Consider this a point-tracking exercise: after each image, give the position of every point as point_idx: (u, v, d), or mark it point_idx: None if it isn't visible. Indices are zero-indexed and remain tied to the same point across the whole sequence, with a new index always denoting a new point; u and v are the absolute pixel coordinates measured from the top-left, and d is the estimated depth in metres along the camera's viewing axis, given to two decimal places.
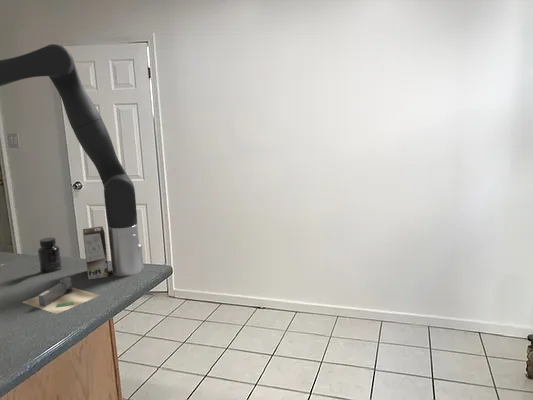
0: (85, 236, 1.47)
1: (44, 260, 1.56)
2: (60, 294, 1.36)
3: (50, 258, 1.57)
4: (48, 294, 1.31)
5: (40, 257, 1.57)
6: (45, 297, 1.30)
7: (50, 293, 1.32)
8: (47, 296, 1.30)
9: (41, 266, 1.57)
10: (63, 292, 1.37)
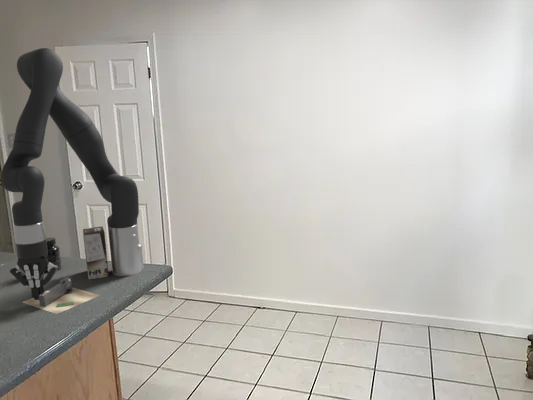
0: (85, 236, 1.47)
1: None
2: (60, 294, 1.36)
3: (50, 258, 1.57)
4: (48, 294, 1.31)
5: None
6: (46, 297, 1.30)
7: (50, 293, 1.32)
8: (47, 296, 1.30)
9: None
10: (63, 292, 1.37)
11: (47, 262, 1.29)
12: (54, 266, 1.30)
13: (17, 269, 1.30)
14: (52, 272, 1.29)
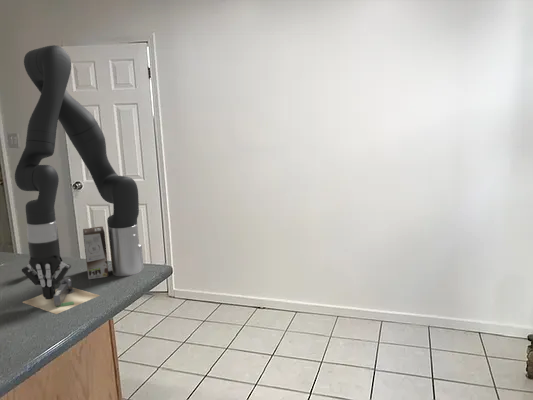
0: (85, 236, 1.47)
1: None
2: (66, 293, 1.36)
3: None
4: (61, 293, 1.31)
5: None
6: (60, 296, 1.30)
7: (62, 292, 1.32)
8: (61, 295, 1.31)
9: None
10: (67, 291, 1.37)
11: (59, 261, 1.29)
12: (66, 266, 1.30)
13: (29, 268, 1.29)
14: (64, 271, 1.29)
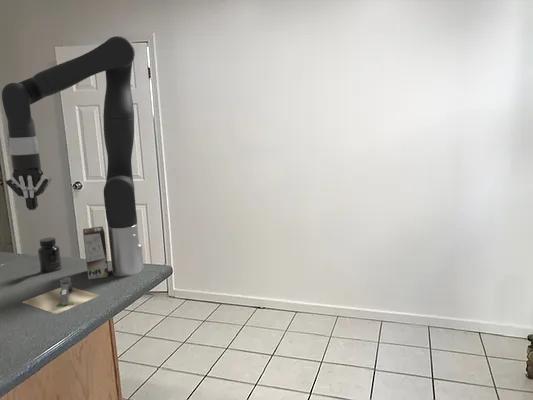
0: (85, 236, 1.47)
1: (44, 260, 1.56)
2: (69, 293, 1.36)
3: (50, 258, 1.57)
4: (67, 292, 1.32)
5: (40, 257, 1.57)
6: (67, 295, 1.31)
7: (67, 291, 1.32)
8: (67, 294, 1.31)
9: (41, 266, 1.57)
10: (69, 291, 1.38)
11: (40, 174, 1.41)
12: (47, 178, 1.42)
13: (12, 181, 1.41)
14: (45, 183, 1.41)
